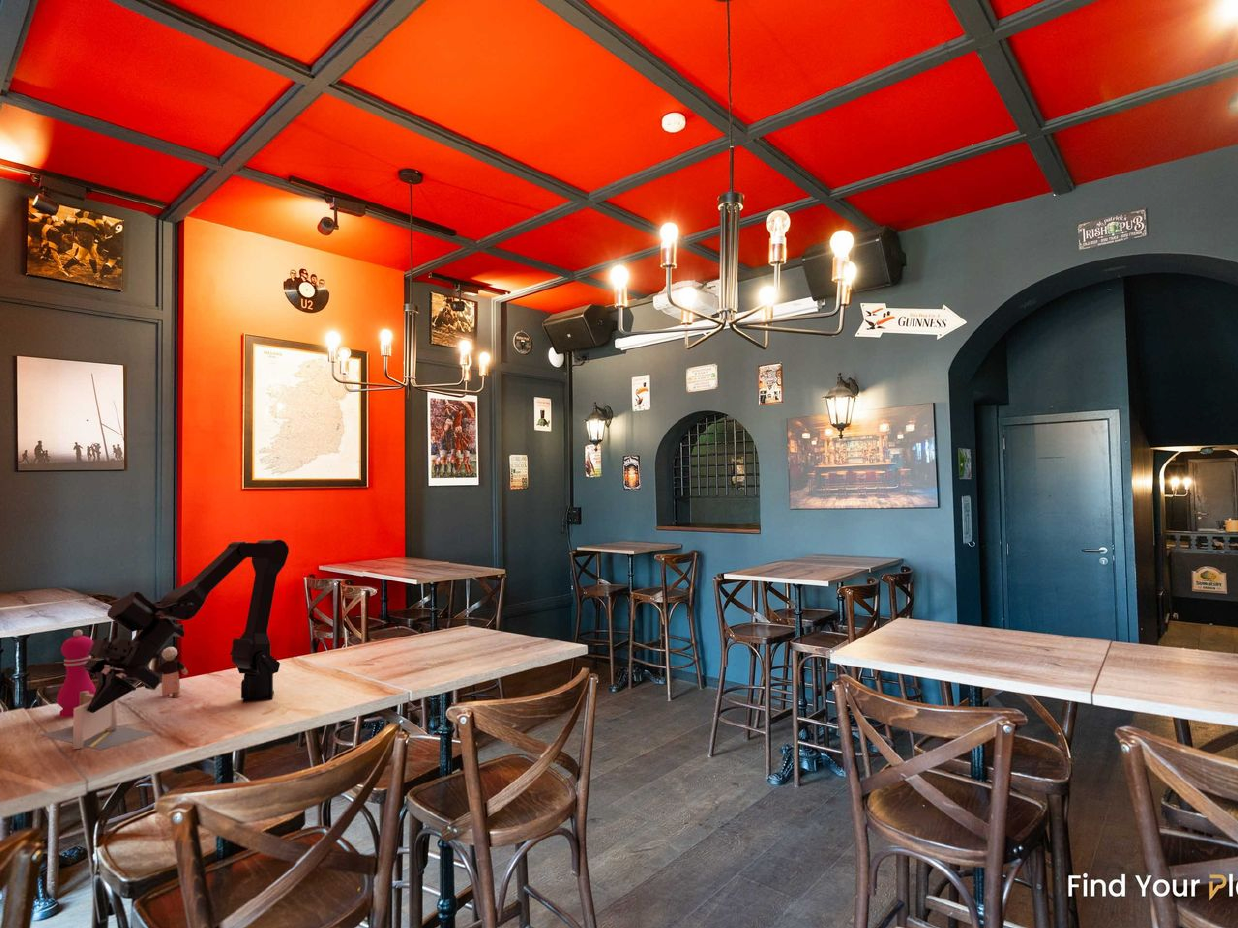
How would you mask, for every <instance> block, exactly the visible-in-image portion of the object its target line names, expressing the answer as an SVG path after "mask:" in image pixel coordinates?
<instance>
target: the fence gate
mask: <svg viewBox="0 0 1238 928" xmlns="http://www.w3.org/2000/svg"><path fill="white" fill-rule="evenodd" d="M90 702H91V701H89V702H87V703H85V704H83V705H81V706H79V707H76V708H74V716H73V719H72V720H73V721H72V722H73V725H72V726H73V743H72V750H80V749H82V748H84V746H83V744H84V741H85V740H87V739H89V738H91V737H92V736H94V735H96V734H98V733H100V732H101V731H103V730H105V731H112V730H115V729H117V725H118V723H117V722H118V721H117V720H118V717H117V716H118V699H116V700H115V701H113V702H111V703H110V704H108V705H106V706H104V707H103V708H101V709H99V710H98V711H96V712H94V713H90V712H89V711H87V709H88V707H89V705H90Z"/></svg>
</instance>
